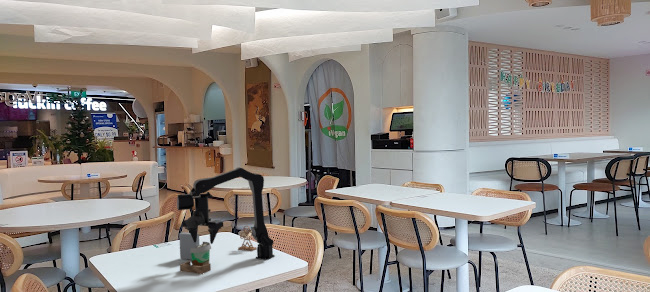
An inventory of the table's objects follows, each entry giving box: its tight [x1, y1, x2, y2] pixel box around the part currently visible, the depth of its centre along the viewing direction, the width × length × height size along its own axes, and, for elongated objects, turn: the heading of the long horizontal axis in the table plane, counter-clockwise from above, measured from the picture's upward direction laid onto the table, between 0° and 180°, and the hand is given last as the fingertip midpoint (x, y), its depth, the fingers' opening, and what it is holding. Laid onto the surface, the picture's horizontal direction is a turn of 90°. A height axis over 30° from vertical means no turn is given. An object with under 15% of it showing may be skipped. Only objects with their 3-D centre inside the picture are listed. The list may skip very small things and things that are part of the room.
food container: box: [190, 241, 212, 266], centre depth 203 cm, size 12×6×10 cm, turn 168°
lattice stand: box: [237, 225, 257, 252], centre depth 232 cm, size 9×4×12 cm, turn 64°
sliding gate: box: [178, 232, 201, 261], centre depth 217 cm, size 10×2×12 cm, turn 65°
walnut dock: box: [179, 260, 212, 275], centre depth 198 cm, size 12×6×3 cm, turn 65°
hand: (203, 243), depth 203 cm, fingers open, 9 cm apart
